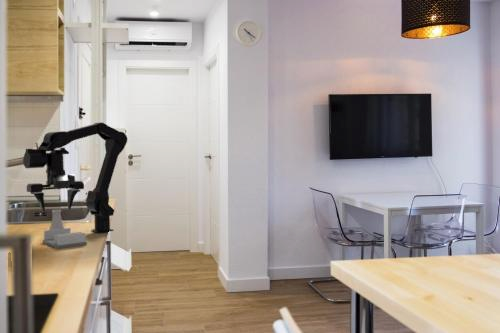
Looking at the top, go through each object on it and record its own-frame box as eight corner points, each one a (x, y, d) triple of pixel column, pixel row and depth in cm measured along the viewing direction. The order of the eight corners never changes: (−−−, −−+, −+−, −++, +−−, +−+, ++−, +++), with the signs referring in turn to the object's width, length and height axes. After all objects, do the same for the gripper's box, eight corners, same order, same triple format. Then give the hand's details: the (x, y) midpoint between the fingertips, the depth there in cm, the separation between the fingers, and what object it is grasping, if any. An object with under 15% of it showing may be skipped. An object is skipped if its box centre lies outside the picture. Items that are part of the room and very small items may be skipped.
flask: (71, 236, 195) (70, 209, 194) (62, 239, 187) (61, 211, 187) (52, 235, 195) (51, 208, 195) (42, 239, 188) (41, 211, 188)
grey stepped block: (42, 242, 182) (42, 230, 182) (71, 238, 188) (71, 227, 188) (56, 248, 171) (56, 236, 171) (86, 244, 178) (86, 232, 177)
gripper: (35, 169, 178) (36, 215, 179) (89, 166, 190) (90, 210, 190) (25, 168, 187) (27, 212, 187) (77, 165, 198) (78, 207, 199)
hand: (56, 210), depth 191 cm, fingers open, 9 cm apart
